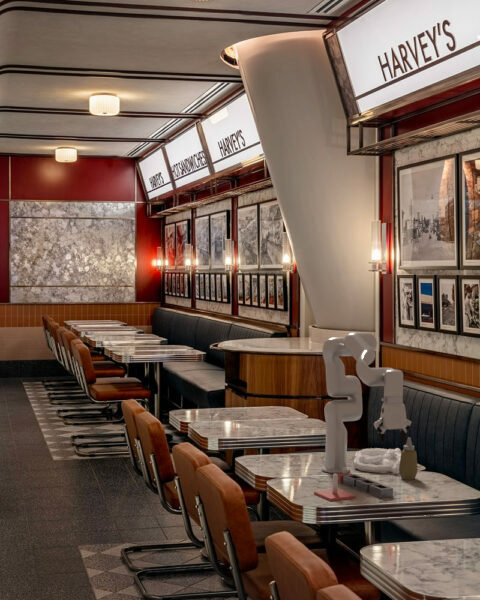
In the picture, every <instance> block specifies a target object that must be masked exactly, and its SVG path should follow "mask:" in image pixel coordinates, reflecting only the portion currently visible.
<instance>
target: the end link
mask: <svg viewBox="0 0 480 600" xmlns="http://www.w3.org/2000/svg"><path fill="white" fill-rule="evenodd" d="M368 494H369V495H372V496H373V495H374V497H376V498H378V497H379V499H387V498H386V497H388V498H393V497H394V488H393V487H391V486H388V485H386V484H383V483H379V484H374V485H369V493H368Z"/></svg>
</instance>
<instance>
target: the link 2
mask: <svg viewBox="0 0 480 600" xmlns="http://www.w3.org/2000/svg"><path fill="white" fill-rule="evenodd" d="M374 484H380V482H377V481H374V480H372V479H369V478H366V479H362V480H356V488H355V490H358V491H360V492H363V493H366V494H369V485H374Z"/></svg>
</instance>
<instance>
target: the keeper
mask: <svg viewBox="0 0 480 600" xmlns="http://www.w3.org/2000/svg"><path fill="white" fill-rule="evenodd" d="M337 474H338V473H332V489H325V490H318V491H317V490H315V491H313V495H315V496H317V497H320V498H322V499H325V500H327V501H329V502H333V501H334V502H335V501H345V500H352V498H354V499H356V498H357V495H355V494H354V493H350V492H348V491H346V490H344V489H340V488H338V487H339V482H338V475H337ZM344 499H345V500H344Z"/></svg>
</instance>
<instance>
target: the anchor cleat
mask: <svg viewBox="0 0 480 600" xmlns="http://www.w3.org/2000/svg"><path fill="white" fill-rule="evenodd" d="M347 467H348V466H346V467H343V473H336V474H337V475H338V484H343V476H344V475H353V473H350V472H347V473H346V471H347Z"/></svg>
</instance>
